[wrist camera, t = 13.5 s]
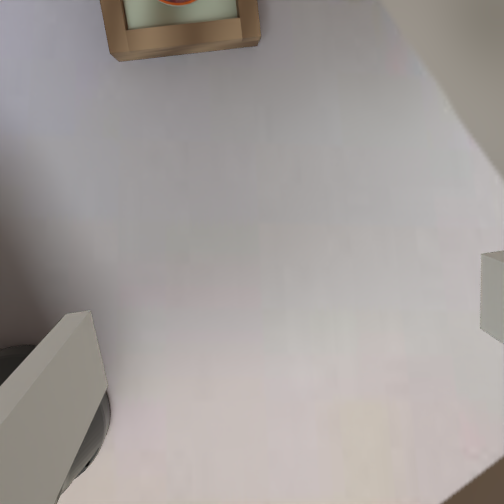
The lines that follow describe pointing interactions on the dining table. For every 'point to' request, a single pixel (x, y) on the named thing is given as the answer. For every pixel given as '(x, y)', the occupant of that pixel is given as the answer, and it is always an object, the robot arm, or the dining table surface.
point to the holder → (178, 27)
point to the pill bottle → (178, 2)
